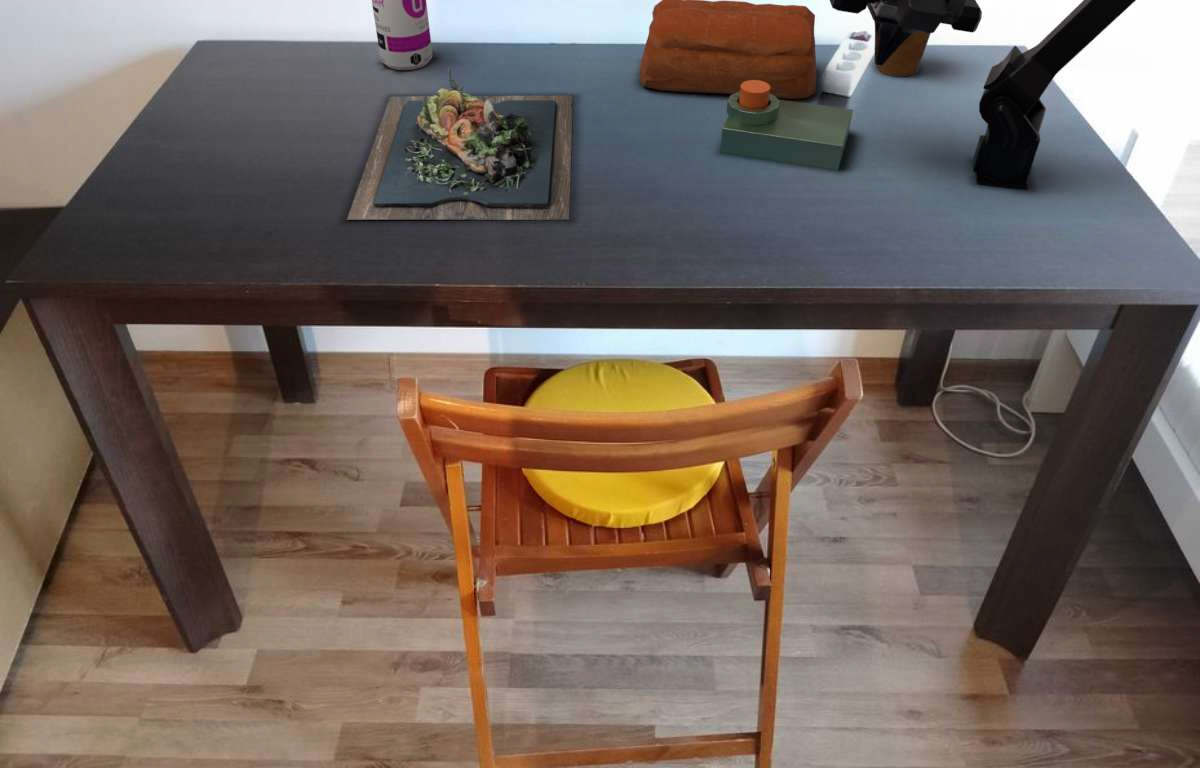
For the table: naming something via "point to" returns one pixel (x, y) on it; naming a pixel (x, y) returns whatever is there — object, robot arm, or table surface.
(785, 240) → the table surface
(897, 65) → the disposable coffee cup
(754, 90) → the button
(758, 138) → the block
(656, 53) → the bread
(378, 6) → the supplement can
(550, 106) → the plated dish
